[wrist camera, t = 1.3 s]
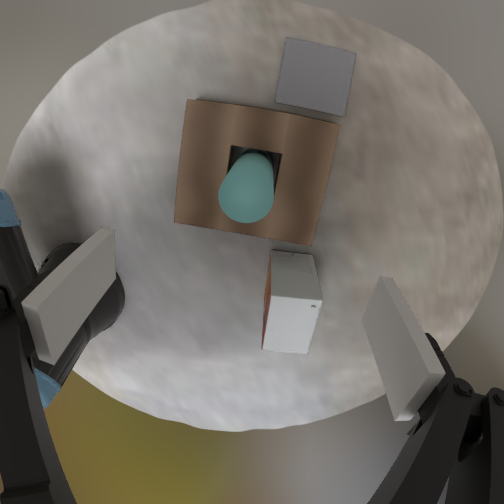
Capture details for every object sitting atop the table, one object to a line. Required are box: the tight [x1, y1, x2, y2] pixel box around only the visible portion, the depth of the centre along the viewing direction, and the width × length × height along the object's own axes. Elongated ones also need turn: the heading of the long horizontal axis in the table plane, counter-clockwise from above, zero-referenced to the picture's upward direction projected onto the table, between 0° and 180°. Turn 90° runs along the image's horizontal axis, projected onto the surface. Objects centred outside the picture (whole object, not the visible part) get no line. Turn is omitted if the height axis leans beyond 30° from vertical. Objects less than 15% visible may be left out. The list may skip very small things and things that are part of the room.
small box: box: [262, 250, 323, 354], centre depth 38 cm, size 8×6×10 cm
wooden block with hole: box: [174, 99, 340, 246], centre depth 35 cm, size 16×14×4 cm
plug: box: [218, 149, 274, 223], centre depth 31 cm, size 4×4×13 cm
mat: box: [275, 37, 356, 117], centre depth 31 cm, size 8×8×1 cm
